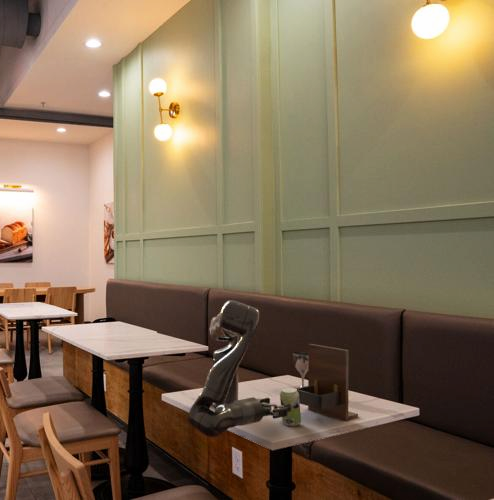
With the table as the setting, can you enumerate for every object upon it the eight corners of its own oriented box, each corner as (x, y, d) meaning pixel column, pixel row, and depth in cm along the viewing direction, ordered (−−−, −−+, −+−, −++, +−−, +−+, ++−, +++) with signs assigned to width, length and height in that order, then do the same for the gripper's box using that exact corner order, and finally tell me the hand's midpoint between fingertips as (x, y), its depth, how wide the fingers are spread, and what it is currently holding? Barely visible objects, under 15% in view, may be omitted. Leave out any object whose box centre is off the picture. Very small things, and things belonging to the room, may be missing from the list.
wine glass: (307, 392, 212) (307, 356, 212) (289, 388, 218) (289, 353, 218) (316, 389, 218) (316, 353, 218) (298, 385, 223) (298, 351, 224)
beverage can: (304, 423, 171) (304, 387, 171) (295, 429, 166) (295, 392, 166) (285, 419, 175) (286, 384, 175) (276, 424, 170) (276, 388, 170)
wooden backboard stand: (325, 426, 169) (326, 353, 169) (288, 414, 181) (288, 346, 182) (358, 417, 179) (358, 348, 179) (320, 406, 192) (320, 342, 192)
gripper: (262, 405, 153) (297, 397, 162) (228, 394, 165) (262, 387, 174) (262, 430, 153) (297, 421, 162) (227, 417, 165) (262, 410, 173)
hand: (279, 404), depth 168 cm, fingers open, 8 cm apart
